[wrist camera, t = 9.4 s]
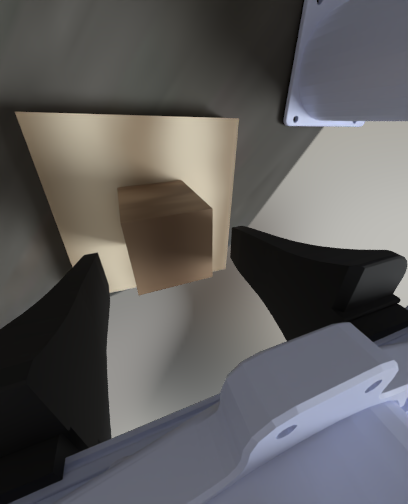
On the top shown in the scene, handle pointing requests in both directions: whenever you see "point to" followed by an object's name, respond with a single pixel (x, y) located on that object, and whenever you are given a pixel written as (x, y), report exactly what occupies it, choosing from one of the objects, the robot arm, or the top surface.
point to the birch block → (127, 175)
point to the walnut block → (166, 234)
